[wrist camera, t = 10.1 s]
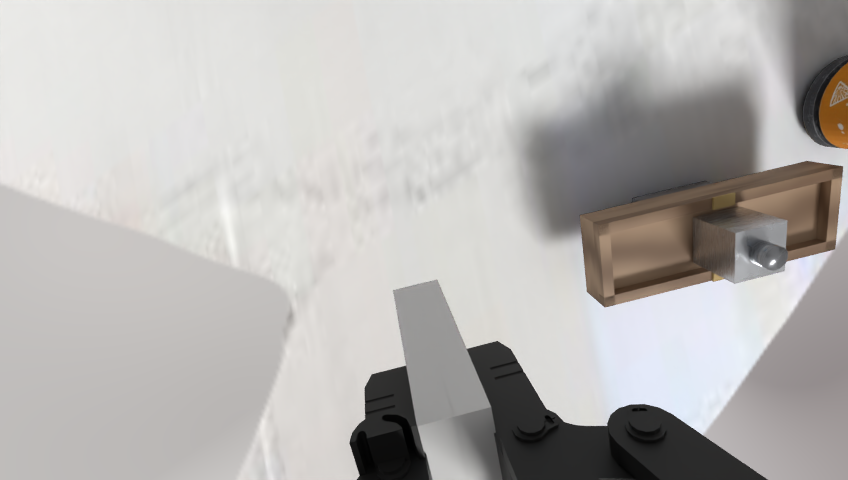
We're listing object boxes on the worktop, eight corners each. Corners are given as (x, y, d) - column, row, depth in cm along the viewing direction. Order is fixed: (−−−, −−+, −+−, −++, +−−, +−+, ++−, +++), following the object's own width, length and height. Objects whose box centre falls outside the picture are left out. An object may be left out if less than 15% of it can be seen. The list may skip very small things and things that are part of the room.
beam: (561, 204, 47) (599, 225, 39) (771, 155, 48) (845, 166, 41) (569, 277, 49) (606, 308, 42) (768, 227, 51) (837, 250, 43)
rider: (692, 217, 42) (750, 238, 35) (739, 206, 42) (804, 225, 36) (693, 262, 43) (748, 290, 37) (738, 251, 43) (800, 277, 37)
